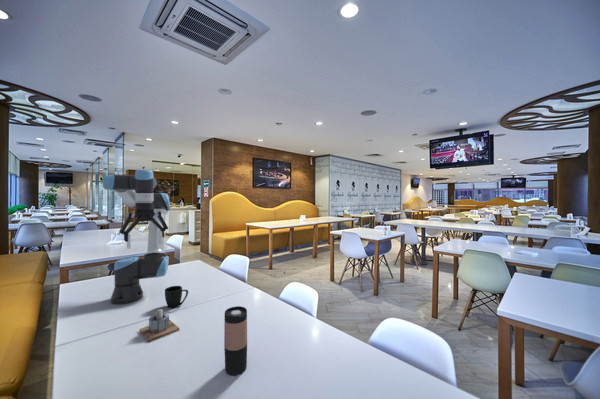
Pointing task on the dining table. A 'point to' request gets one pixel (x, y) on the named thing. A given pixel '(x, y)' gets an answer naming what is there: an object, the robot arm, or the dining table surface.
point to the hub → (158, 324)
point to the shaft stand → (154, 336)
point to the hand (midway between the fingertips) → (145, 246)
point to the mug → (174, 296)
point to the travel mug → (235, 340)
